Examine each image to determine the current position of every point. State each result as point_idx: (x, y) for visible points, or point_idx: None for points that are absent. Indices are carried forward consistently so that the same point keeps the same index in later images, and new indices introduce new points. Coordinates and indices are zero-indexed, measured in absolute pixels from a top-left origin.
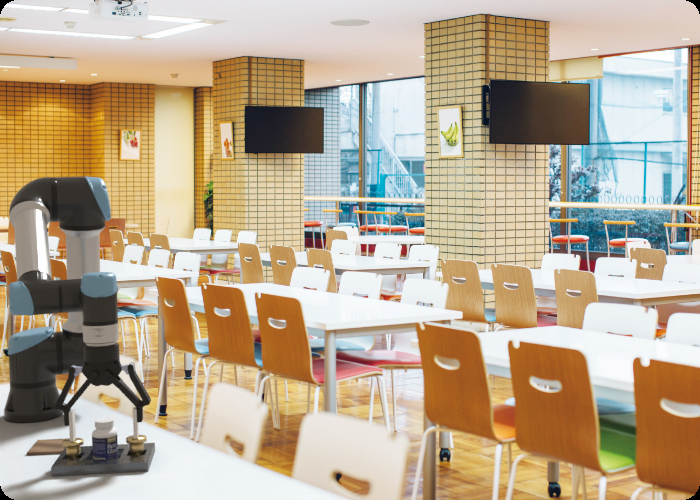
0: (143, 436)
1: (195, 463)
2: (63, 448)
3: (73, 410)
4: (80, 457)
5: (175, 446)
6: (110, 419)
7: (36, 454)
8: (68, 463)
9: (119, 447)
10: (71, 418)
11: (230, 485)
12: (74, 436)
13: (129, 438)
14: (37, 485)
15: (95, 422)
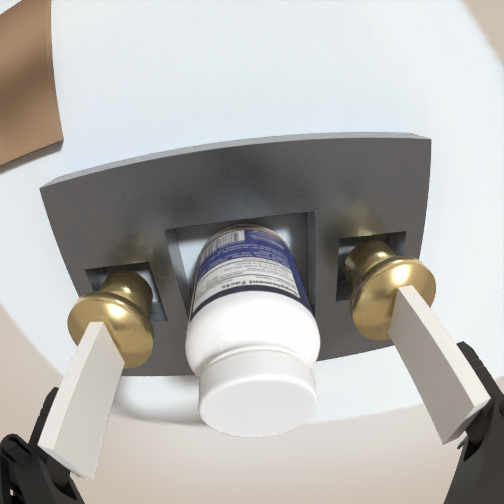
0: (425, 290)
1: (488, 268)
2: (23, 123)
3: (70, 464)
4: (152, 292)
5: (464, 91)
6: (298, 402)
7: None
8: (152, 358)
9: (288, 191)
10: (95, 452)
11: (487, 363)
12: (110, 356)
13: (369, 317)
14: (132, 393)
15: (213, 426)
